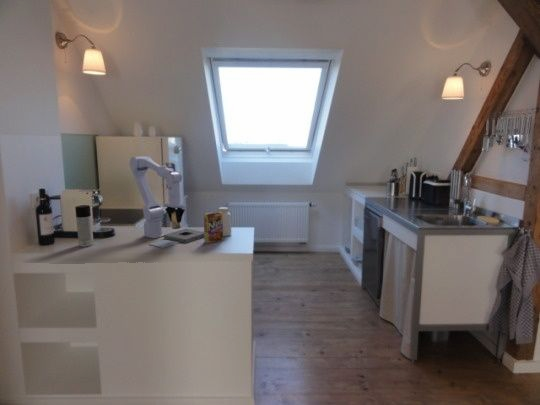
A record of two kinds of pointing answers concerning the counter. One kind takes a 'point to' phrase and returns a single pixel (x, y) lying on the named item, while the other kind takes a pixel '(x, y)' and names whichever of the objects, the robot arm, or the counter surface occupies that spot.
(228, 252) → the counter surface
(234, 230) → the counter surface
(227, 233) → the pill bottle
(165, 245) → the mat
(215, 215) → the candy box
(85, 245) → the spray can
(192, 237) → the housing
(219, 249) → the counter surface
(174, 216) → the end plug
